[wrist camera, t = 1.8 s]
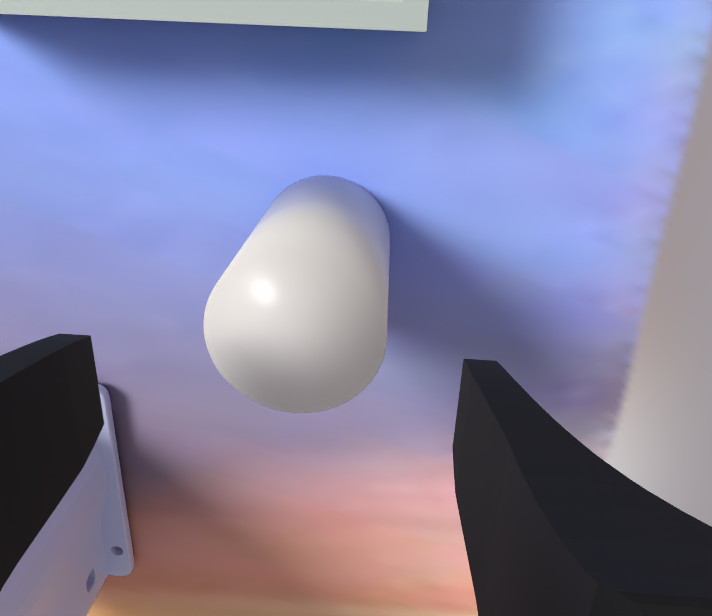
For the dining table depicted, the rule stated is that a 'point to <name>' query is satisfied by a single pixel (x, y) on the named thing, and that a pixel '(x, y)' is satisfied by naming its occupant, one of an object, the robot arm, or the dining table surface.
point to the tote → (242, 12)
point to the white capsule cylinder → (305, 299)
